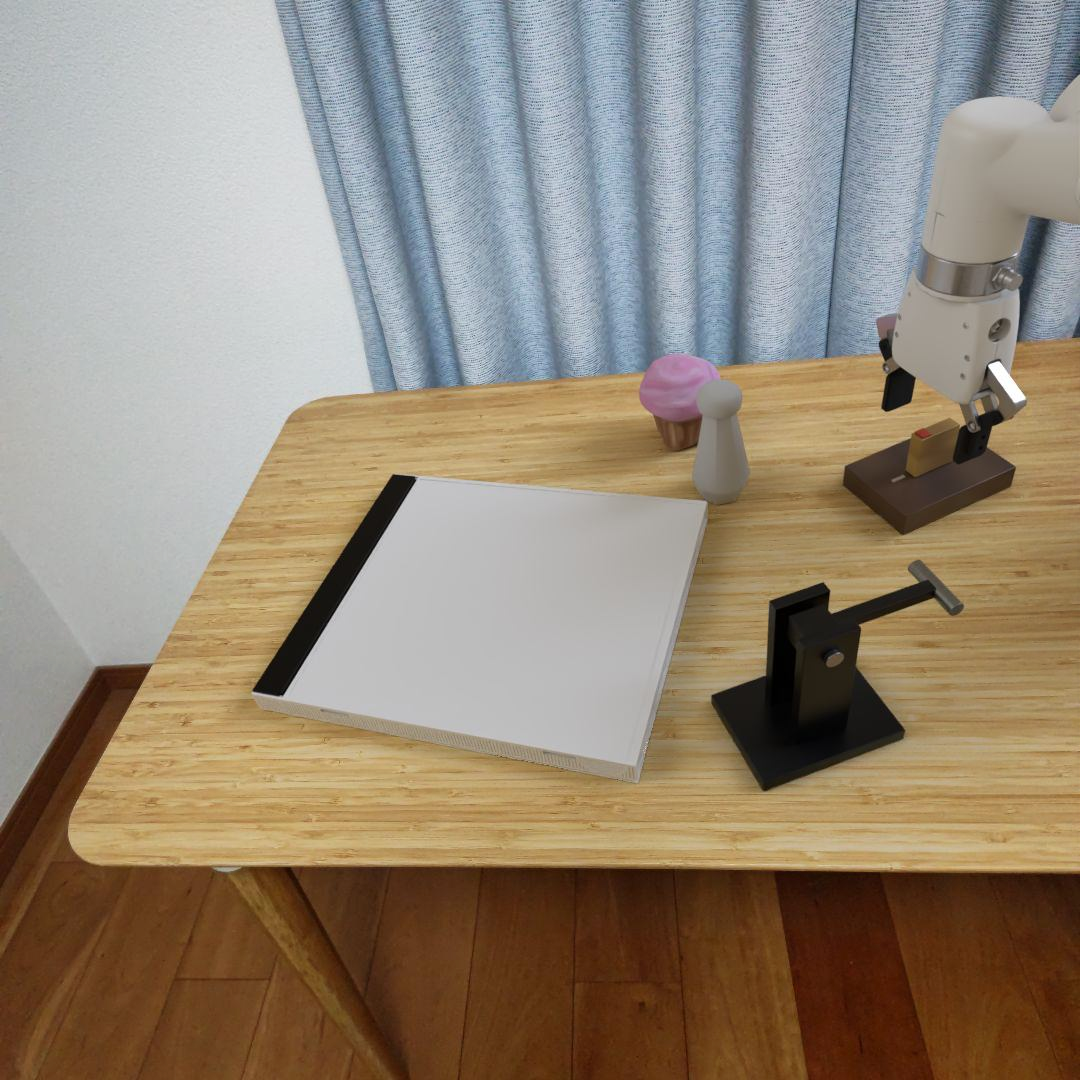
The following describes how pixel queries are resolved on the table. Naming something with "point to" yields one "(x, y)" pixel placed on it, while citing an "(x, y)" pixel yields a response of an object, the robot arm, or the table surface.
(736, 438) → the salt shaker
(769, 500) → the table surface
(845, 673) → the handle bracket
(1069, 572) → the table surface
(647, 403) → the cupcake
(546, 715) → the cd case
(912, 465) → the thumb turn
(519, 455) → the table surface
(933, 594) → the door handle
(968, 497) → the plate
